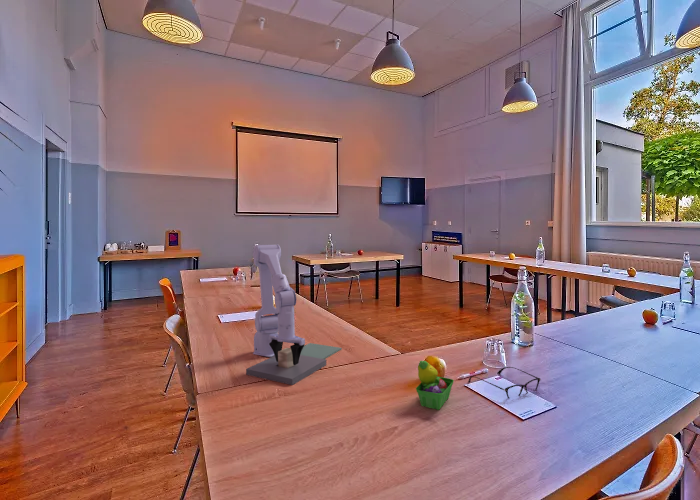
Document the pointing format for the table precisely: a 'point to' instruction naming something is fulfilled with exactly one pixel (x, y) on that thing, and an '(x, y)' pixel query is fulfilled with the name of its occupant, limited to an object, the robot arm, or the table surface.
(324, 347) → the rubber mat
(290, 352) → the birch block
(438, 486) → the table surface
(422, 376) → the fruit basket
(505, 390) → the eyeglasses
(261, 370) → the pocket plate
